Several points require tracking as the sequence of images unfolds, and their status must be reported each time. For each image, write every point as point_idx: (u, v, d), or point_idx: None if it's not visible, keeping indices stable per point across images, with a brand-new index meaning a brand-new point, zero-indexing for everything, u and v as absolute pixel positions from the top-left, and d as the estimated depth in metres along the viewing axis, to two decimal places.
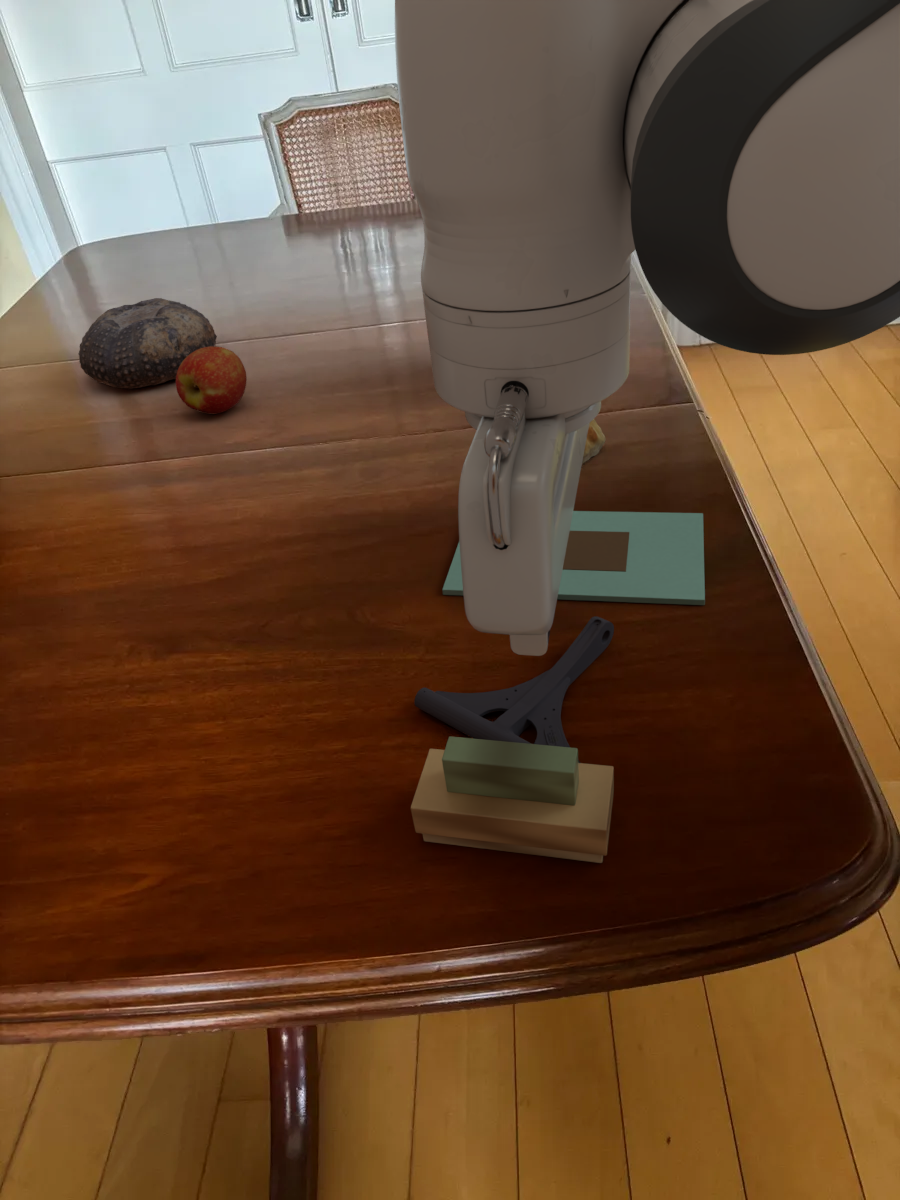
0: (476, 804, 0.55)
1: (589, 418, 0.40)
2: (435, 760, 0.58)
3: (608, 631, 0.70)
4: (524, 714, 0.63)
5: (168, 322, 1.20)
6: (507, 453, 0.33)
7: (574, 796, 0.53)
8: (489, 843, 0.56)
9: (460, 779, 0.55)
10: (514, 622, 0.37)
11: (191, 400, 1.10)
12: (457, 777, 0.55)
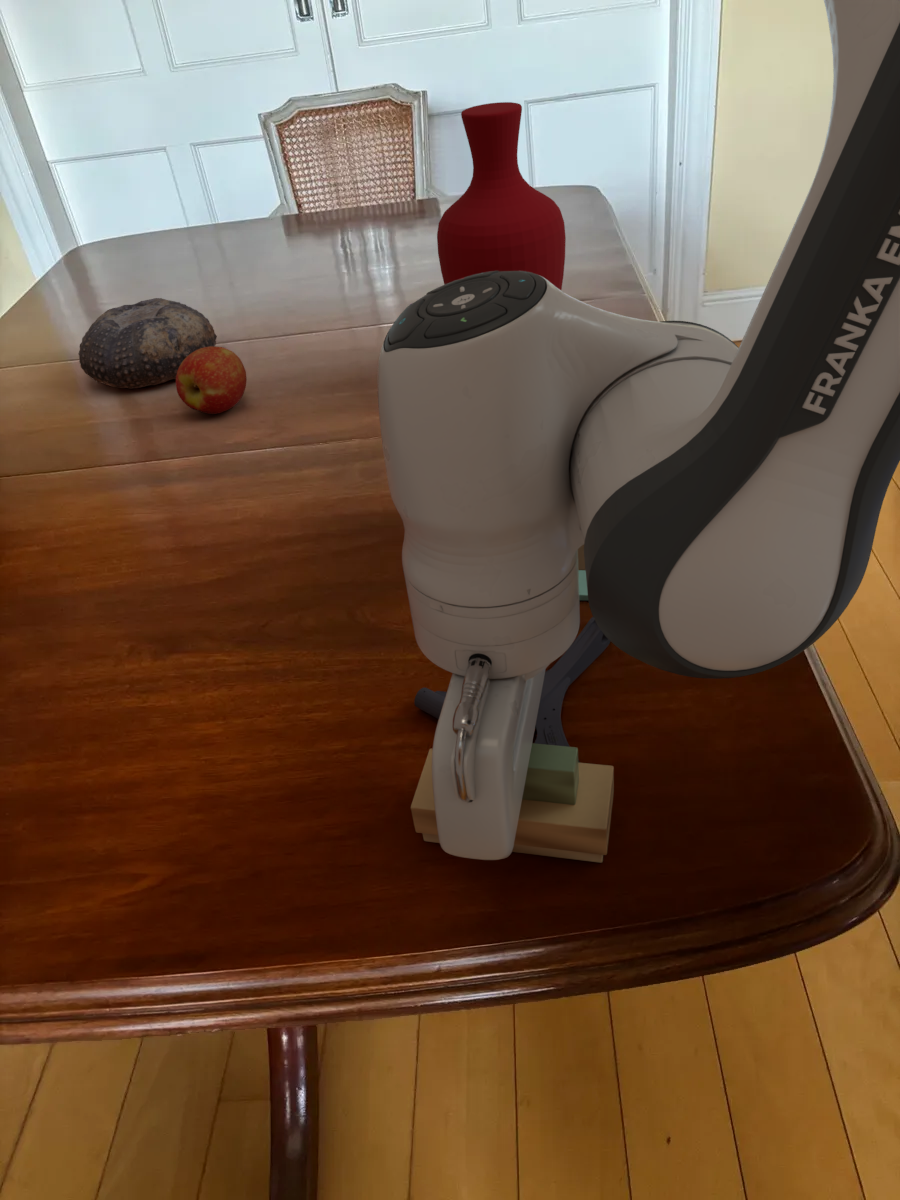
0: None
1: (546, 665, 0.47)
2: None
3: None
4: None
5: (168, 322, 1.20)
6: (471, 733, 0.40)
7: (574, 795, 0.53)
8: None
9: None
10: (479, 853, 0.44)
11: (191, 400, 1.10)
12: None
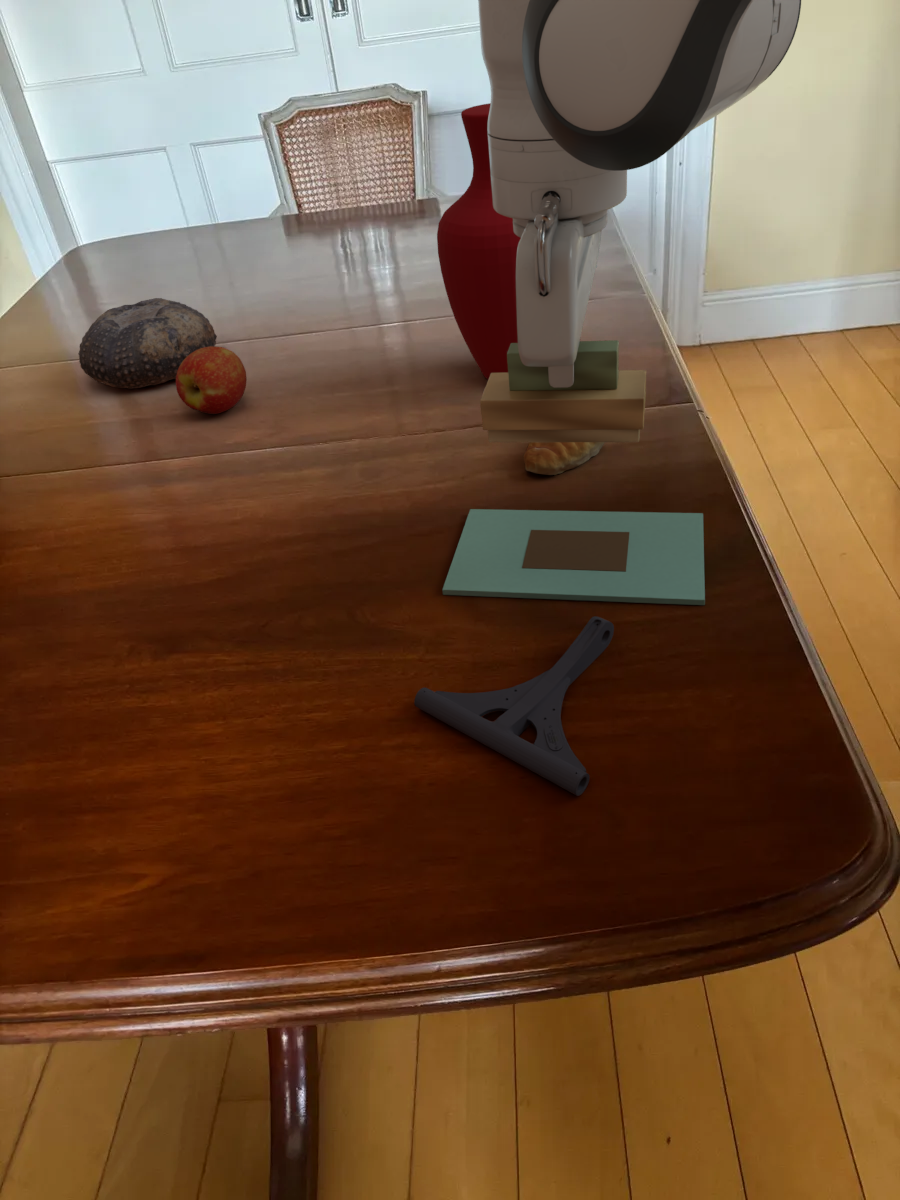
0: (534, 394, 0.67)
1: (599, 227, 0.59)
2: (497, 377, 0.70)
3: (608, 631, 0.70)
4: (524, 714, 0.63)
5: (168, 322, 1.20)
6: (549, 226, 0.52)
7: (616, 379, 0.65)
8: (544, 434, 0.68)
9: (521, 373, 0.66)
10: (551, 352, 0.56)
11: (191, 400, 1.10)
12: (519, 372, 0.66)
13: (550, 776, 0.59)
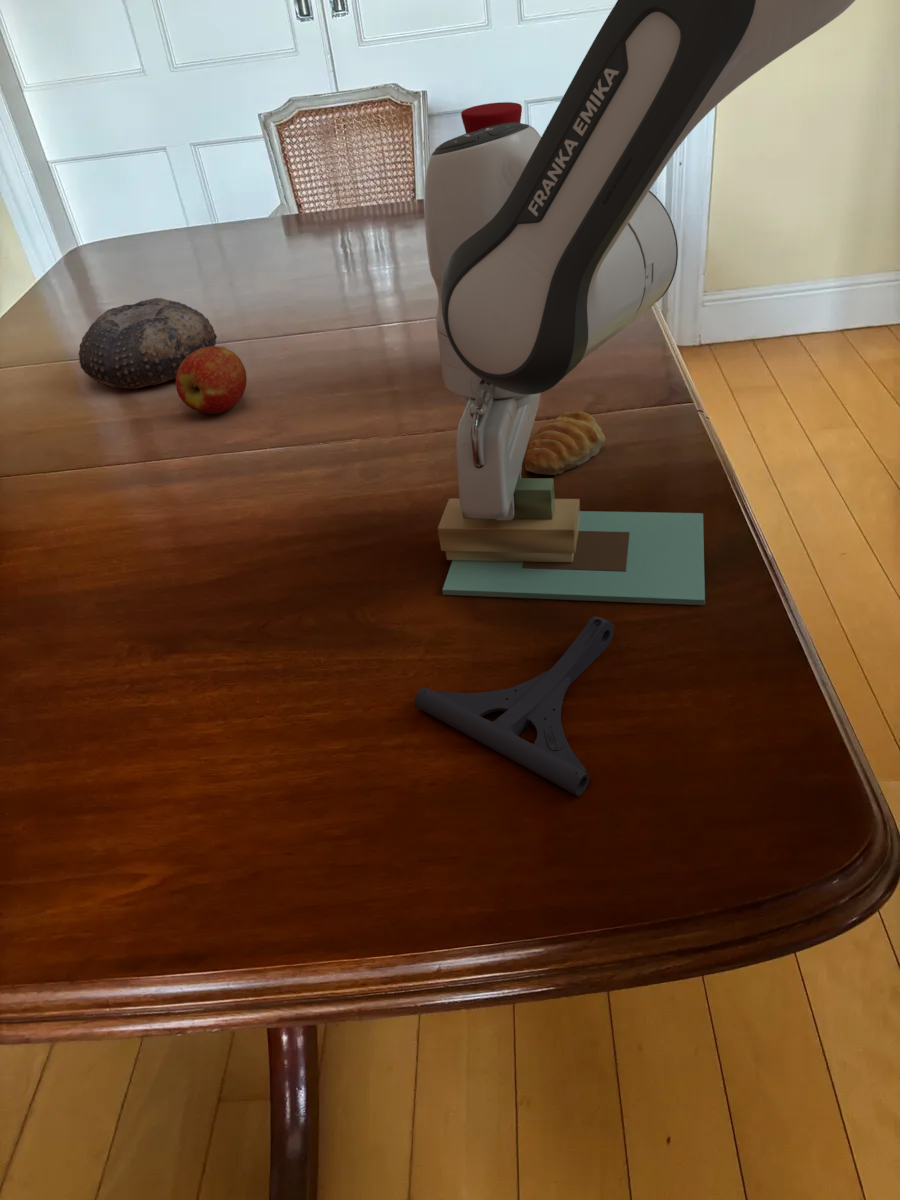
0: (483, 523, 0.78)
1: (530, 399, 0.70)
2: (453, 503, 0.82)
3: (608, 631, 0.70)
4: (524, 714, 0.63)
5: (168, 322, 1.20)
6: (481, 416, 0.64)
7: (551, 511, 0.77)
8: (493, 555, 0.80)
9: None
10: (486, 510, 0.67)
11: (191, 400, 1.10)
12: None
13: (550, 776, 0.59)
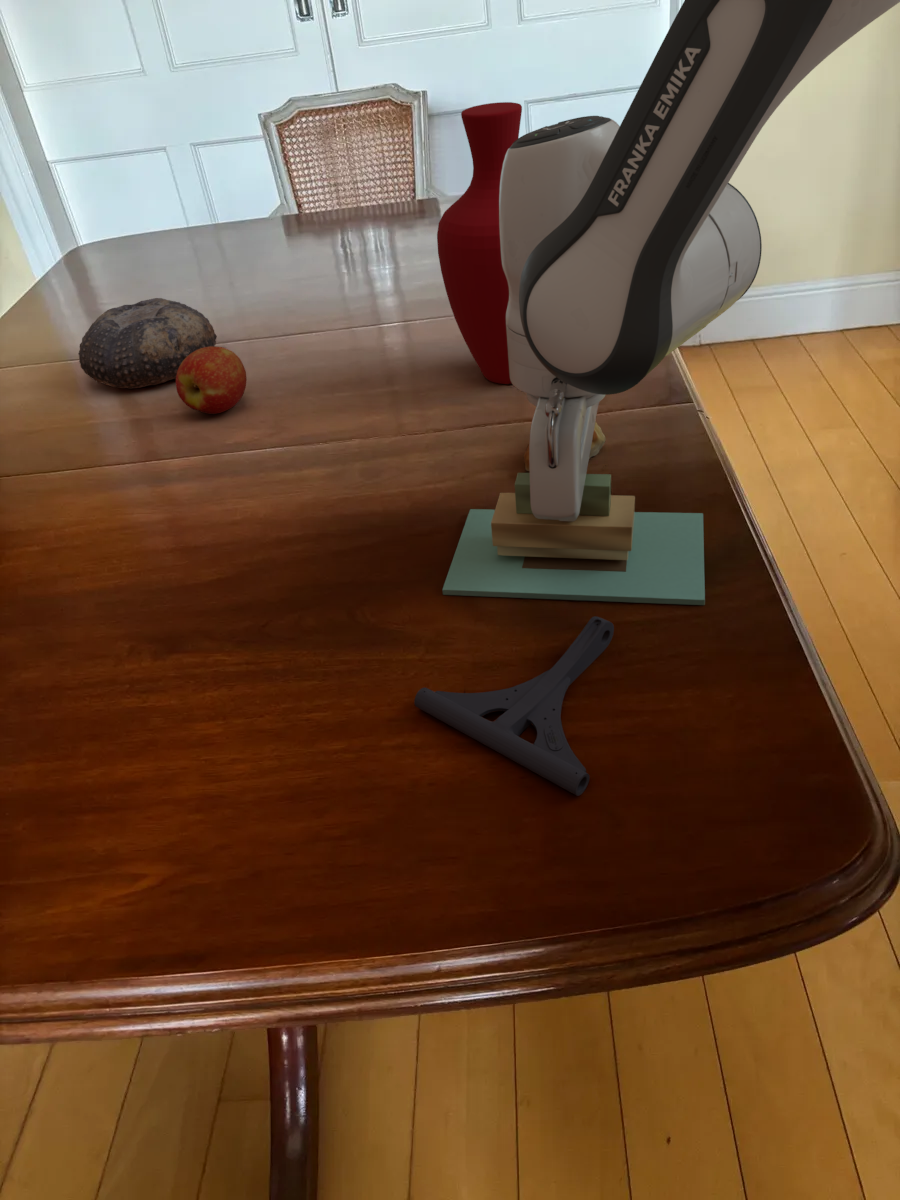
0: None
1: (600, 398, 0.69)
2: (505, 498, 0.80)
3: (608, 631, 0.70)
4: (524, 714, 0.63)
5: (168, 322, 1.20)
6: (557, 415, 0.63)
7: (608, 508, 0.76)
8: (546, 551, 0.78)
9: (527, 500, 0.77)
10: (558, 511, 0.66)
11: (191, 400, 1.10)
12: (525, 499, 0.77)
13: (550, 776, 0.59)
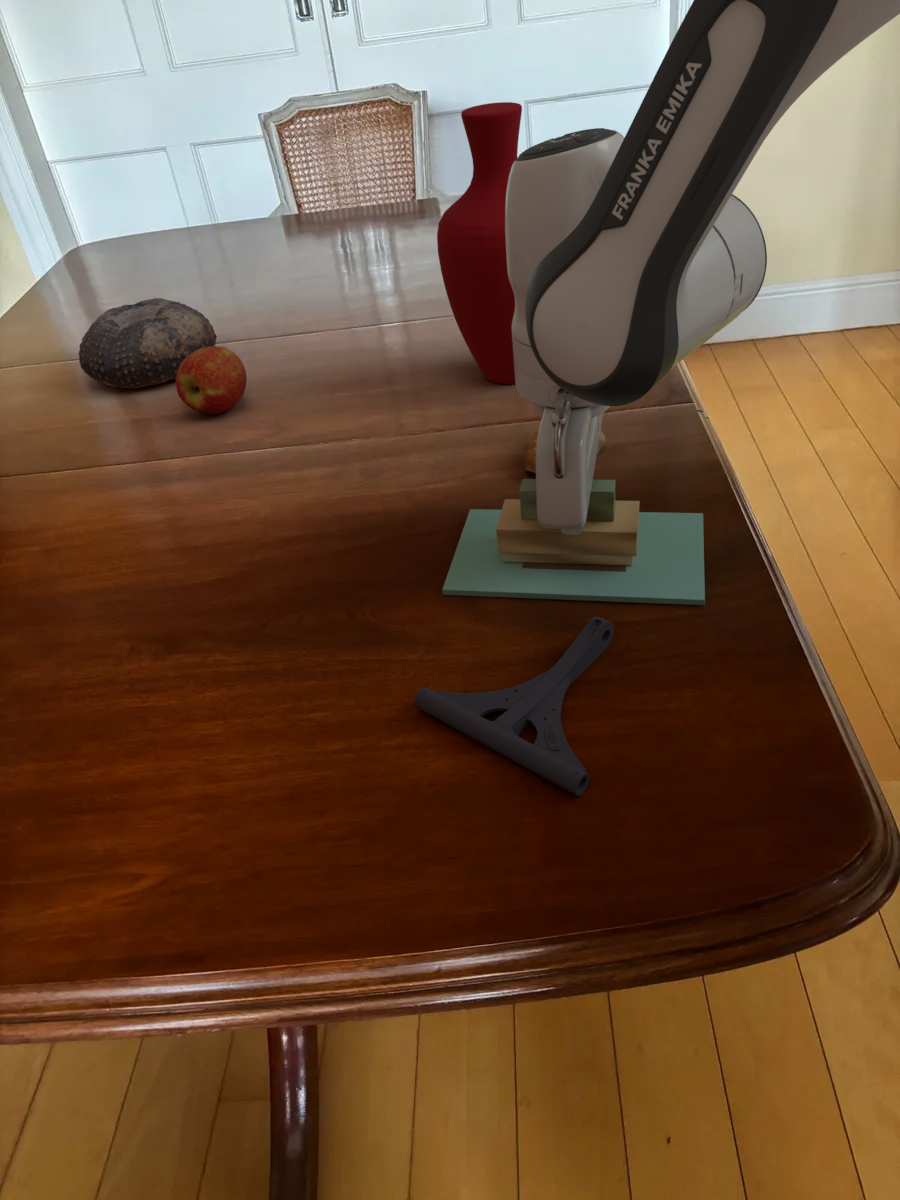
0: None
1: (605, 408, 0.69)
2: (510, 504, 0.80)
3: (608, 631, 0.70)
4: (524, 714, 0.64)
5: (168, 322, 1.20)
6: (564, 425, 0.63)
7: (613, 513, 0.76)
8: (551, 557, 0.78)
9: (531, 506, 0.77)
10: (564, 520, 0.66)
11: (191, 400, 1.10)
12: (529, 505, 0.77)
13: (550, 776, 0.59)
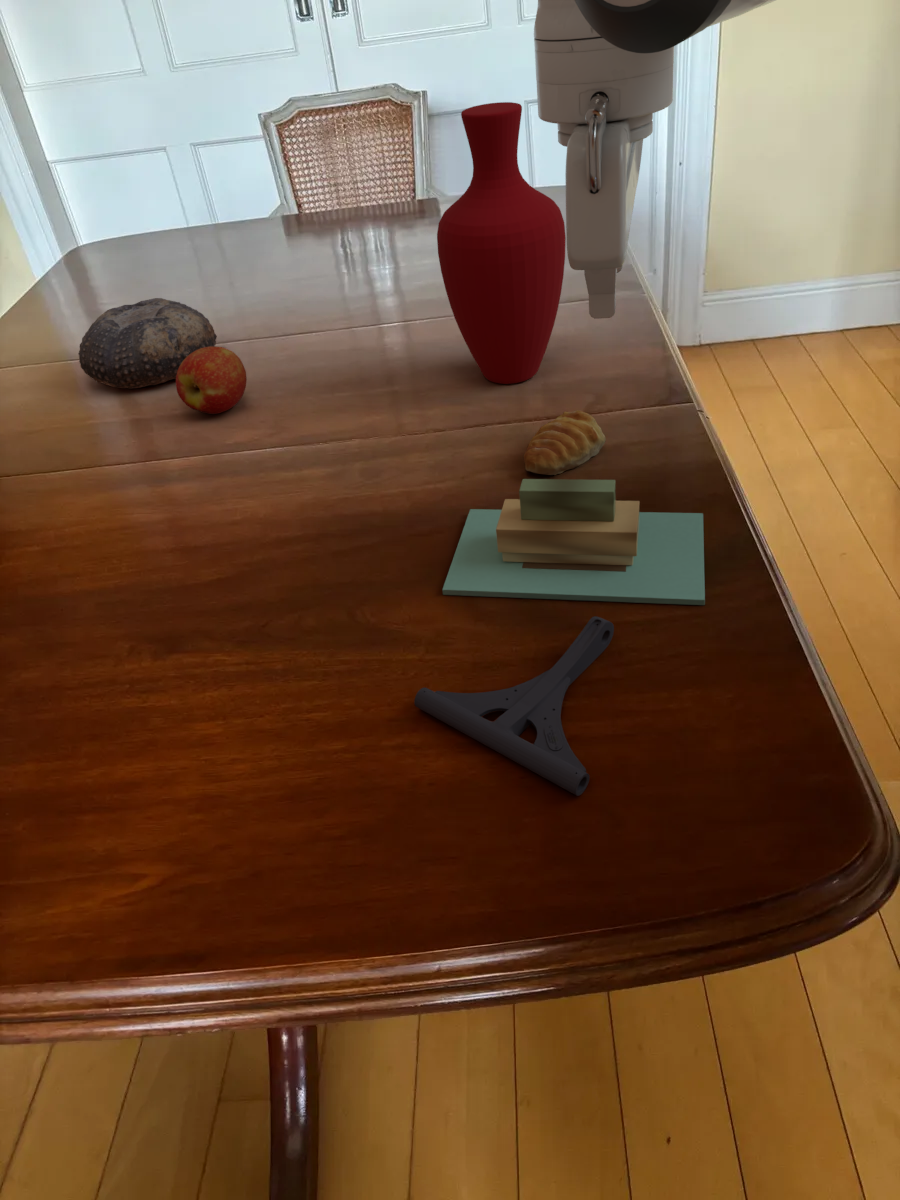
0: (543, 524, 0.77)
1: (646, 133, 0.59)
2: (510, 504, 0.80)
3: (608, 631, 0.70)
4: (524, 714, 0.63)
5: (168, 322, 1.20)
6: (600, 120, 0.52)
7: (613, 513, 0.76)
8: (551, 557, 0.78)
9: (531, 506, 0.77)
10: (600, 252, 0.56)
11: (191, 400, 1.10)
12: (529, 505, 0.77)
13: (550, 776, 0.59)
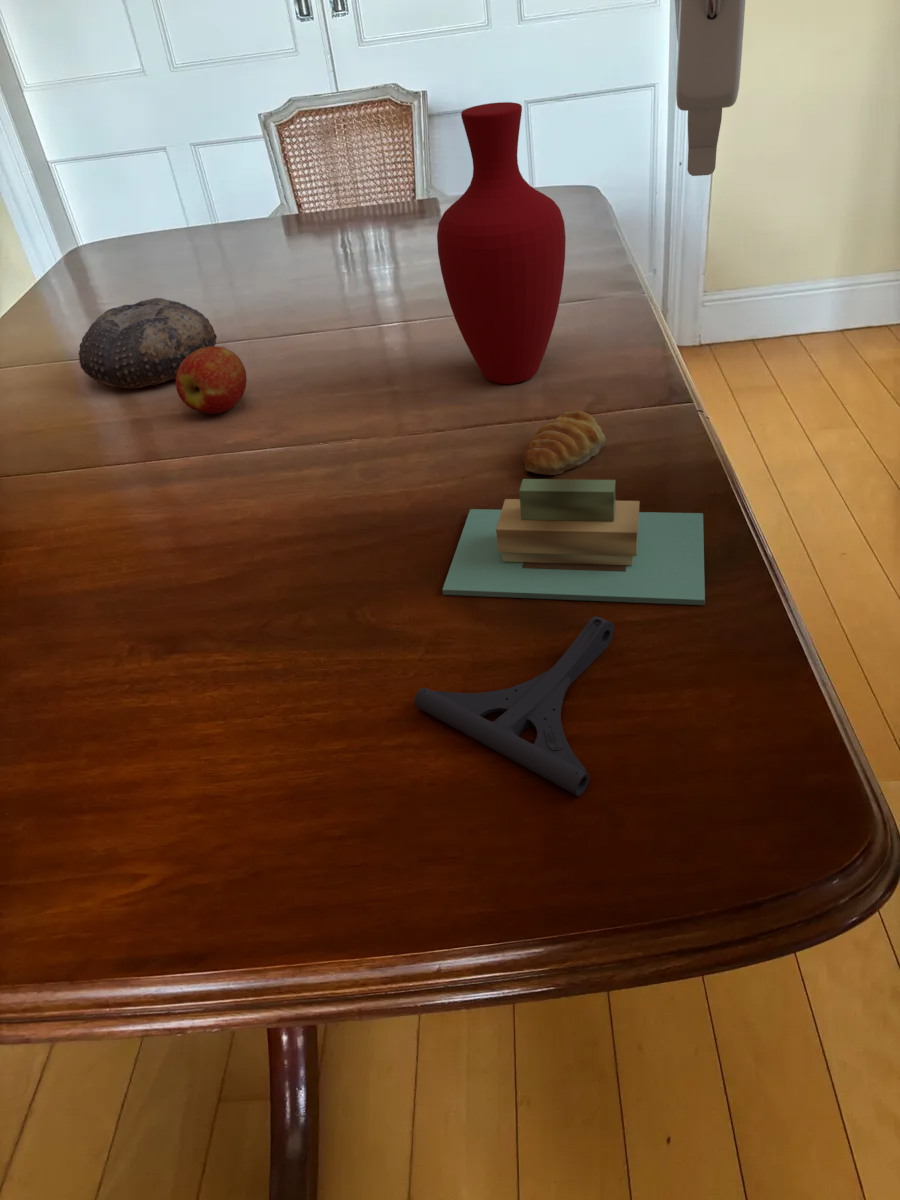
0: (543, 524, 0.77)
1: None
2: (510, 504, 0.80)
3: (608, 631, 0.70)
4: (524, 714, 0.63)
5: (168, 322, 1.20)
6: None
7: (613, 513, 0.76)
8: (551, 557, 0.78)
9: (531, 506, 0.77)
10: (713, 87, 0.53)
11: (191, 400, 1.10)
12: (529, 505, 0.77)
13: (550, 776, 0.59)
